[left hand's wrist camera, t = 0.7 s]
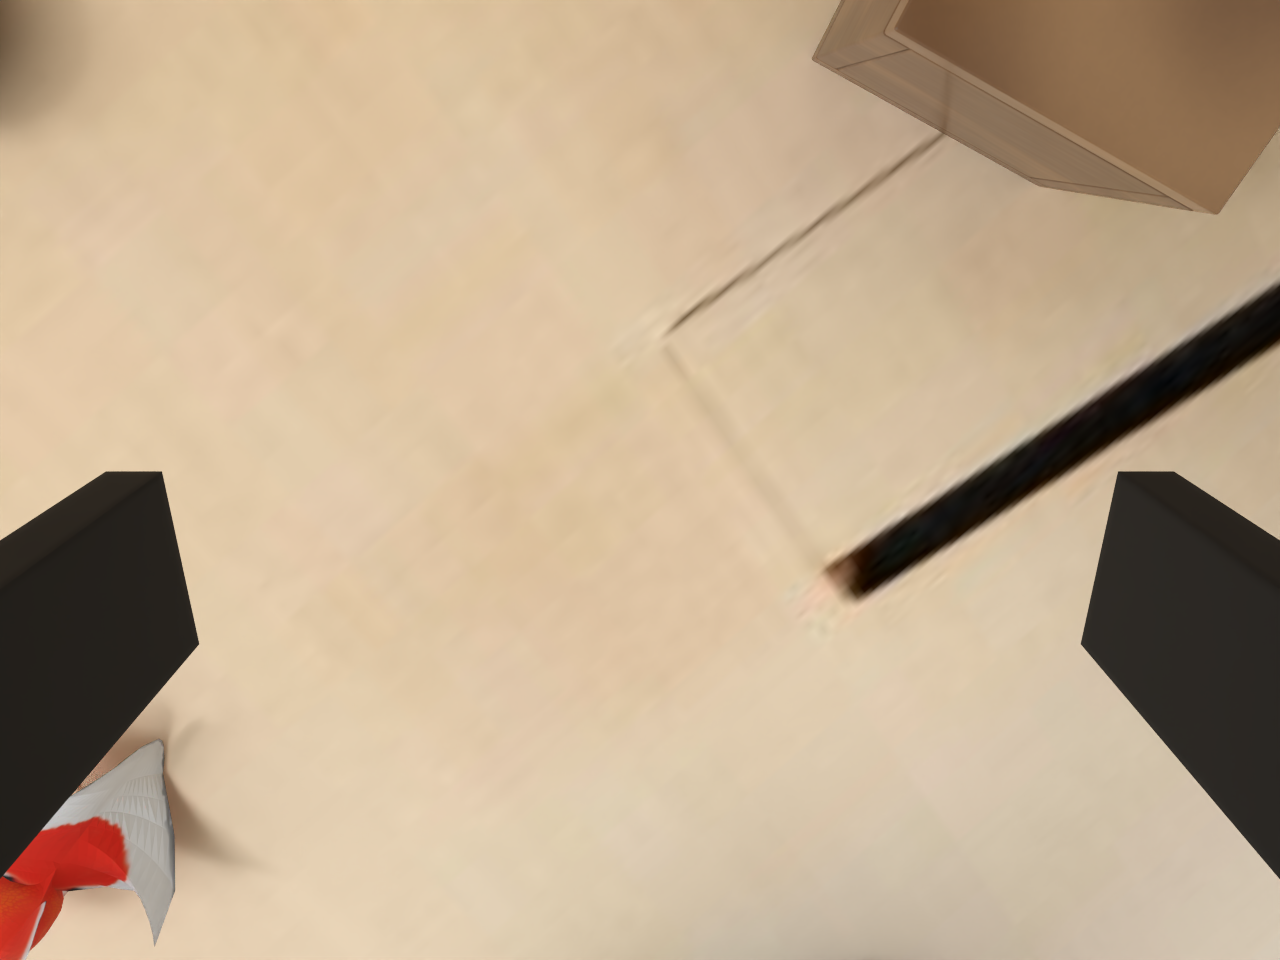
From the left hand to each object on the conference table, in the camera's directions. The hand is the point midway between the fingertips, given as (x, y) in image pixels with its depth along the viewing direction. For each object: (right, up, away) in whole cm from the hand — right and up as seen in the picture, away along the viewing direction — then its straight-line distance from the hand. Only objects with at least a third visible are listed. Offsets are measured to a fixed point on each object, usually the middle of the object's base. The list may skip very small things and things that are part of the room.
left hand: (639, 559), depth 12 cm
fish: (-29, -16, +34) cm, 47 cm away
